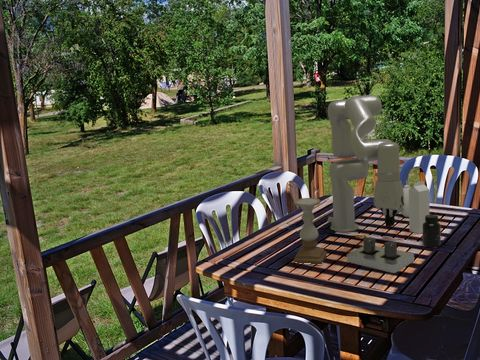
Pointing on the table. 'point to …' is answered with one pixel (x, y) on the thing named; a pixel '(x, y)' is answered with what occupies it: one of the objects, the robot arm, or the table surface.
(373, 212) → the table surface
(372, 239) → the jig
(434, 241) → the supplement bottle
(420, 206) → the milk
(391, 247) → the dark grey cylinder
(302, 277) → the table surface
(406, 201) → the sauce bottle
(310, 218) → the candle holder
